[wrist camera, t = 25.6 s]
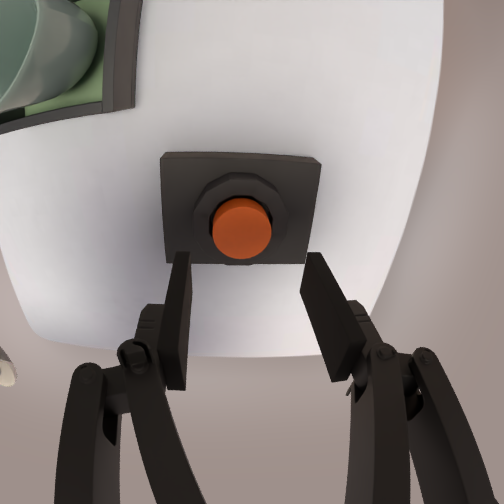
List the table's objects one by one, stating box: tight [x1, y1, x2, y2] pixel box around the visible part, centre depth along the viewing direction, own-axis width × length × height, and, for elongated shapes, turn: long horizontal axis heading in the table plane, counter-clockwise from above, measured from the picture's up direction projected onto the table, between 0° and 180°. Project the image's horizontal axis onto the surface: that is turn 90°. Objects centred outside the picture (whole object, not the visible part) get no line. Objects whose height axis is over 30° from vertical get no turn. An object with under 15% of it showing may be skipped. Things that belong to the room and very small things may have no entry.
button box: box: [160, 152, 322, 265], centre depth 23 cm, size 12×9×4 cm
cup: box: [0, 0, 99, 113], centre depth 10 cm, size 8×8×10 cm
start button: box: [213, 198, 271, 259], centre depth 20 cm, size 4×4×2 cm
